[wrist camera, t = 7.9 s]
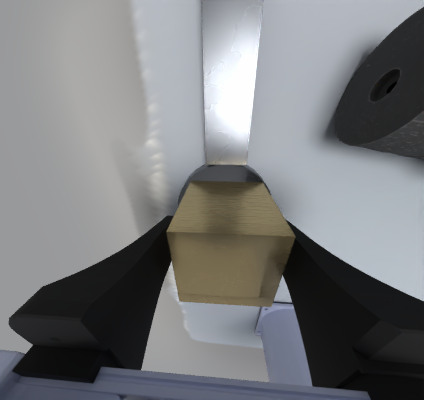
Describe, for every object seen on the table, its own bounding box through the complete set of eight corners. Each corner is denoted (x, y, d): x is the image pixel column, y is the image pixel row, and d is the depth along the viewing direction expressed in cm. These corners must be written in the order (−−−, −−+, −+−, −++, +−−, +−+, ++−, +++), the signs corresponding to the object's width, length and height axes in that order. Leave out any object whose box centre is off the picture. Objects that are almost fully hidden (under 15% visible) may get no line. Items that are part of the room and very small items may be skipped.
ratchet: (260, 235, 16) (273, 275, 12) (186, 232, 17) (174, 270, 13) (349, -223, 6) (678, -1103, 2) (137, -196, 6) (-34, -819, 2)
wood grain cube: (253, 236, 14) (271, 307, 9) (195, 234, 15) (179, 301, 9) (262, 182, 12) (295, 236, 6) (191, 180, 12) (166, 231, 7)
